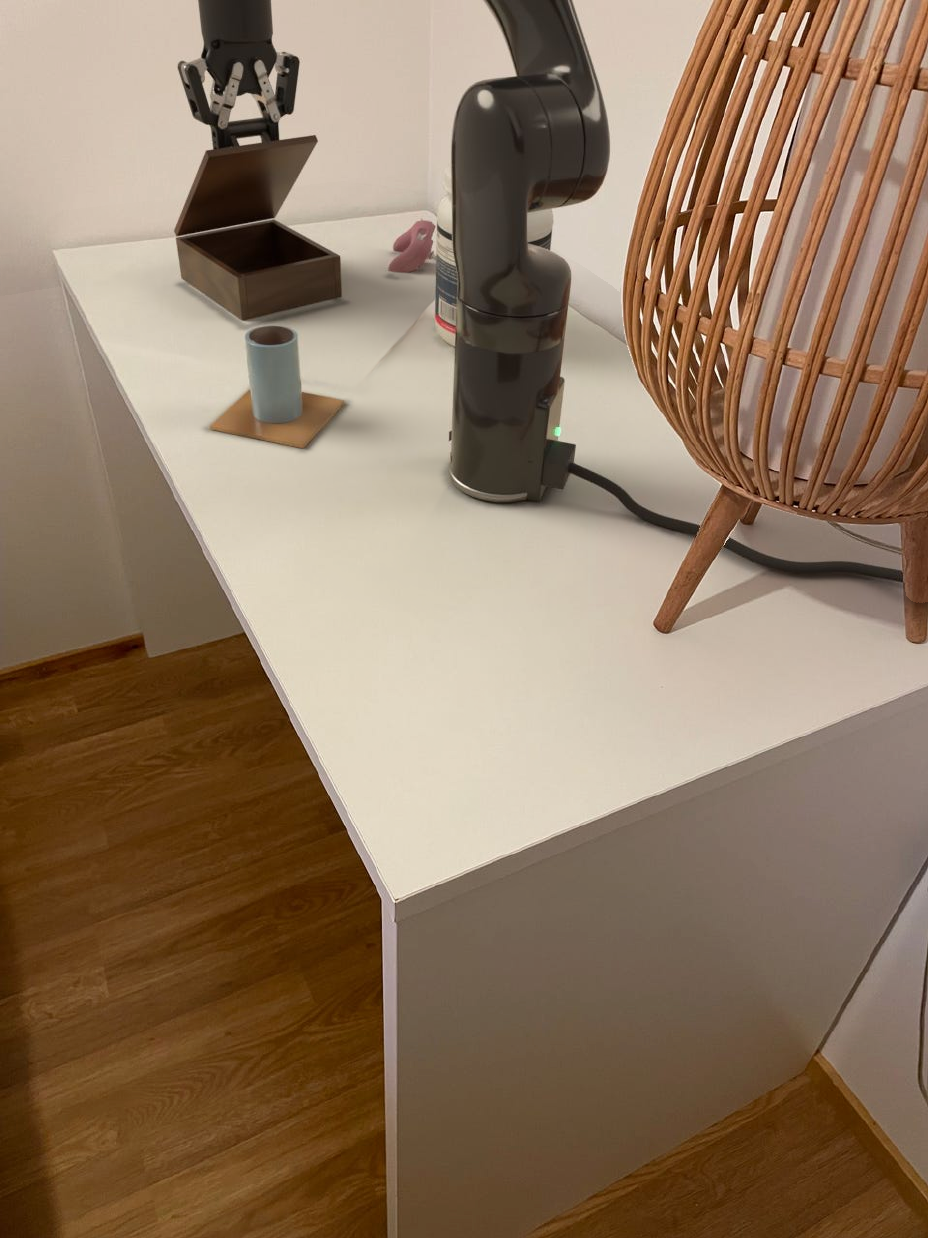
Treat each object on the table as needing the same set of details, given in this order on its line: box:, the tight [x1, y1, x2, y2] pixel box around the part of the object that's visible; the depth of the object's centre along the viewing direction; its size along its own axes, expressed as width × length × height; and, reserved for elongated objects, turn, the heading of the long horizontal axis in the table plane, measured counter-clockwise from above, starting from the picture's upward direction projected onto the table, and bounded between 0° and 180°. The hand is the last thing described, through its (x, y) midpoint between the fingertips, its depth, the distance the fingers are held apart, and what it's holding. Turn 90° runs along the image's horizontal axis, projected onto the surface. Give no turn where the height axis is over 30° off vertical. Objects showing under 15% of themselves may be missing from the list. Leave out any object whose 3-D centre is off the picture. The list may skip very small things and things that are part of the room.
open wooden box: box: [175, 218, 343, 322], centre depth 120 cm, size 16×14×6 cm
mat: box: [209, 389, 345, 449], centre depth 98 cm, size 10×10×1 cm
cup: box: [244, 324, 303, 424], centre depth 95 cm, size 5×5×8 cm
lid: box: [173, 116, 319, 237], centre depth 116 cm, size 17×14×5 cm
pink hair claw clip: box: [388, 217, 436, 273], centre depth 130 cm, size 10×5×7 cm, turn 179°
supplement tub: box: [434, 164, 554, 348], centre depth 109 cm, size 13×13×18 cm
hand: (248, 158), depth 112 cm, fingers closed on lid, 5 cm apart
